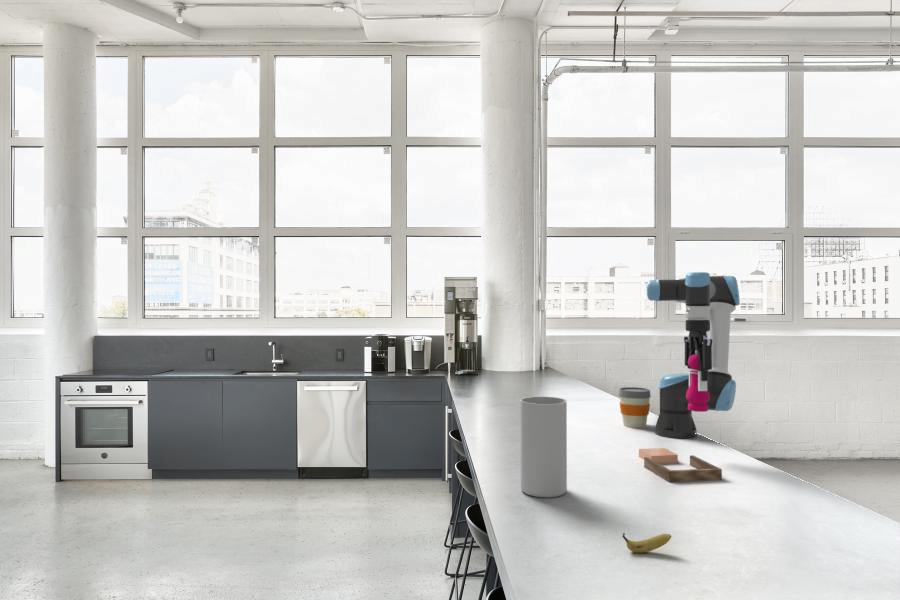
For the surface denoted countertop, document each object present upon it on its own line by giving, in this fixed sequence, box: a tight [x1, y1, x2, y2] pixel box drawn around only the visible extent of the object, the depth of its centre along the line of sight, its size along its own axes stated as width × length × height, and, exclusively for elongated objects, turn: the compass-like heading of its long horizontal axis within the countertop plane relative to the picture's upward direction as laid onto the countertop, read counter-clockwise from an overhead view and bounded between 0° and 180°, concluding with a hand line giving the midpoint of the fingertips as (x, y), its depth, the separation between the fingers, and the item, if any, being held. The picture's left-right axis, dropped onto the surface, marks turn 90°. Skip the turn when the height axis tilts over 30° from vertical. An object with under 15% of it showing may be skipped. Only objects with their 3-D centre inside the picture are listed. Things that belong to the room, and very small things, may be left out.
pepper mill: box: [686, 350, 710, 413], centre depth 201 cm, size 7×7×20 cm
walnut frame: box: [643, 455, 723, 483], centre depth 184 cm, size 16×16×3 cm
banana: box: [621, 532, 672, 554], centre depth 127 cm, size 10×2×4 cm, turn 87°
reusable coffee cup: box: [618, 386, 652, 429], centre depth 252 cm, size 12×12×15 cm
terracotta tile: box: [638, 447, 679, 465], centre depth 199 cm, size 9×9×3 cm
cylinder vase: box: [520, 396, 568, 499], centre depth 168 cm, size 12×12×25 cm
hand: (697, 389), depth 201 cm, fingers closed on pepper mill, 5 cm apart
